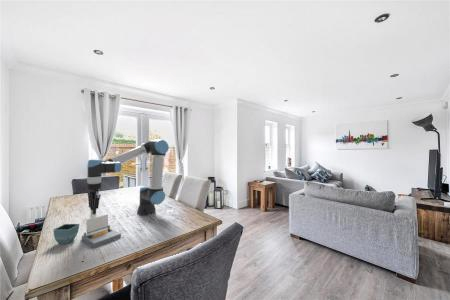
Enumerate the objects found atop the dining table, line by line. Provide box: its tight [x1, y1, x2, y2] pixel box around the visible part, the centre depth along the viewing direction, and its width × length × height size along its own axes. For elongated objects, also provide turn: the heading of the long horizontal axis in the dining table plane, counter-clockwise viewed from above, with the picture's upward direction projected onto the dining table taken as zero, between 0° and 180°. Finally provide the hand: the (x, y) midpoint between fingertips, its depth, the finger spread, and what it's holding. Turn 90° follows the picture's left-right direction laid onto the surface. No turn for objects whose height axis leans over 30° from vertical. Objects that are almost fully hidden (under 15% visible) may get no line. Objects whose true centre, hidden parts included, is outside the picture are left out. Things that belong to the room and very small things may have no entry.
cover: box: [86, 213, 109, 234], centre depth 117 cm, size 8×12×1 cm
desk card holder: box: [81, 224, 122, 249], centre depth 114 cm, size 16×15×5 cm
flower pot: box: [52, 223, 80, 244], centre depth 109 cm, size 9×9×9 cm
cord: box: [92, 230, 108, 238], centre depth 115 cm, size 3×8×3 cm
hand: (93, 218), depth 120 cm, fingers closed
